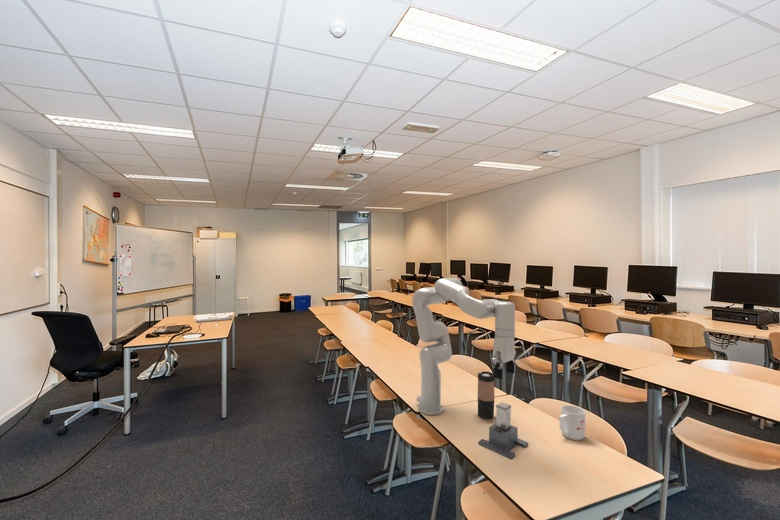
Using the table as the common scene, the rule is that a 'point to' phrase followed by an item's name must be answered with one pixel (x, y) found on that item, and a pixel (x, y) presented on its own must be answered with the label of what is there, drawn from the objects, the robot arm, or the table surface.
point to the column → (503, 416)
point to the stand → (503, 441)
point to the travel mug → (486, 395)
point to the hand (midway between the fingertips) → (504, 375)
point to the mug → (572, 422)
